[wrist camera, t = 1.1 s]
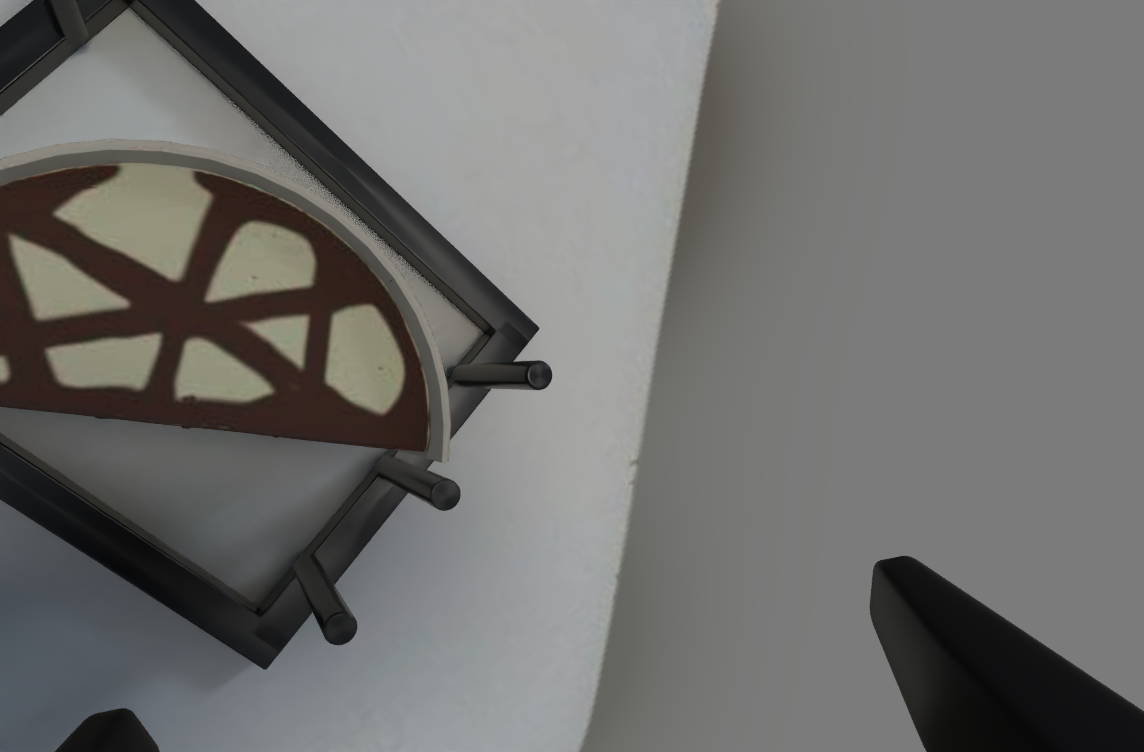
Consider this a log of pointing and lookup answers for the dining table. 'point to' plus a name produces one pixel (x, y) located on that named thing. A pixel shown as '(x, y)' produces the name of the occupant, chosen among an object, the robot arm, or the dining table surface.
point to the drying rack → (88, 3)
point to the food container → (207, 301)
